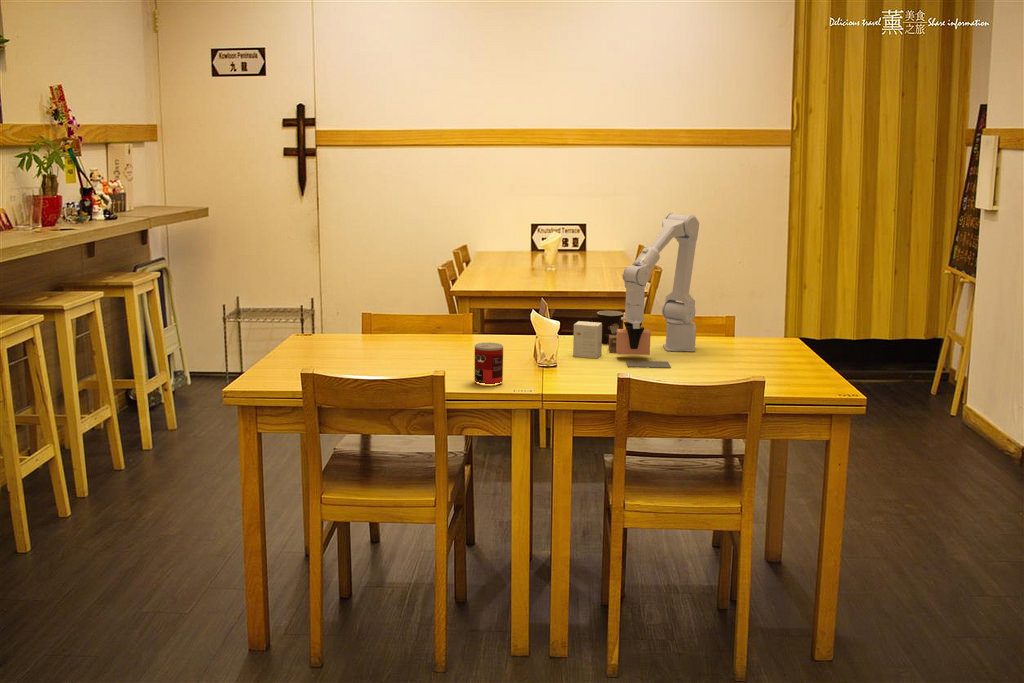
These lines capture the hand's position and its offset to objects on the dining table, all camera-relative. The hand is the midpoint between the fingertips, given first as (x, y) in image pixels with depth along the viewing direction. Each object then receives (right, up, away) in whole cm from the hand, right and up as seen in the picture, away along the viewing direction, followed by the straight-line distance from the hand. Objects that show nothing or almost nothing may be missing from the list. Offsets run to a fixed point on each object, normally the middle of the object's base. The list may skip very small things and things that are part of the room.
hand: (632, 346), depth 324 cm
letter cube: (-4, -2, +11) cm, 11 cm away
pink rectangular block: (0, -2, 0) cm, 2 cm away
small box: (-14, -3, +4) cm, 15 cm away
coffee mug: (-7, +1, +23) cm, 24 cm away
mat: (+4, -6, -7) cm, 10 cm away
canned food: (-44, -10, -31) cm, 55 cm away
